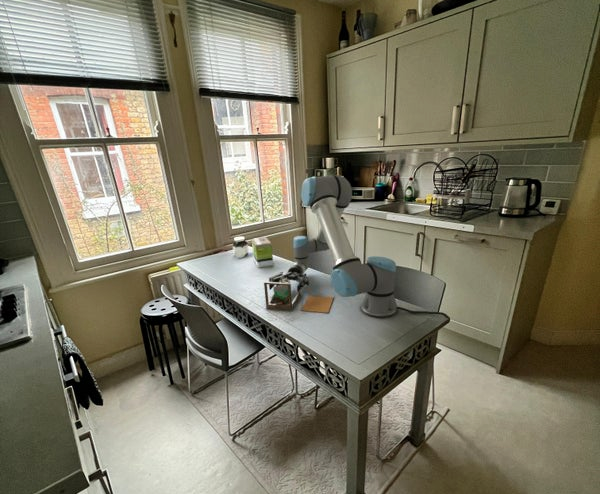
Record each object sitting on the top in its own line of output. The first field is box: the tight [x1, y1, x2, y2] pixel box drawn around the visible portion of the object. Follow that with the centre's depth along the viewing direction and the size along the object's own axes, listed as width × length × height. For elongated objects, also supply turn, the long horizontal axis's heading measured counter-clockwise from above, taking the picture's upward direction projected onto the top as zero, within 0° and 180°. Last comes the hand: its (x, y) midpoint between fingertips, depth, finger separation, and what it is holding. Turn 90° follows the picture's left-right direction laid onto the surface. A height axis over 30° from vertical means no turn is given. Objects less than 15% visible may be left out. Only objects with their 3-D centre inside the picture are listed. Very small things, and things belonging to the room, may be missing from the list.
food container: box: [273, 277, 291, 305], centre depth 147 cm, size 12×6×10 cm, turn 168°
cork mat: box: [300, 295, 334, 314], centre depth 144 cm, size 12×15×1 cm
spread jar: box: [232, 236, 250, 259], centre depth 214 cm, size 12×11×12 cm
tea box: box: [251, 236, 274, 268], centre depth 197 cm, size 15×10×15 cm, turn 17°
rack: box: [263, 281, 302, 312], centre depth 145 cm, size 12×16×13 cm
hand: (283, 288), depth 146 cm, fingers open, 13 cm apart
